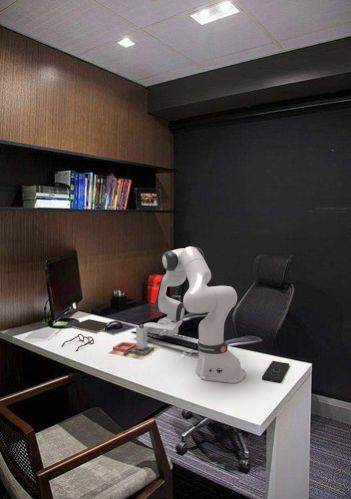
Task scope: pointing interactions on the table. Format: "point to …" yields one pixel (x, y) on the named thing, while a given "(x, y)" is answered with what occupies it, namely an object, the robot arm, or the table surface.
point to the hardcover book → (90, 326)
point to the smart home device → (275, 372)
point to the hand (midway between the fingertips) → (152, 333)
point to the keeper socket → (124, 348)
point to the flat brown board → (135, 352)
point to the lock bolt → (141, 338)
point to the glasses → (81, 340)
